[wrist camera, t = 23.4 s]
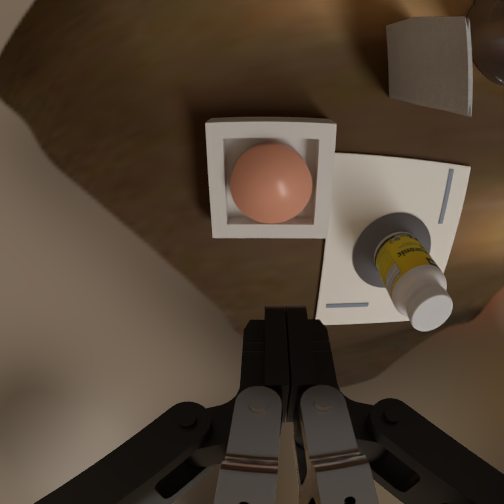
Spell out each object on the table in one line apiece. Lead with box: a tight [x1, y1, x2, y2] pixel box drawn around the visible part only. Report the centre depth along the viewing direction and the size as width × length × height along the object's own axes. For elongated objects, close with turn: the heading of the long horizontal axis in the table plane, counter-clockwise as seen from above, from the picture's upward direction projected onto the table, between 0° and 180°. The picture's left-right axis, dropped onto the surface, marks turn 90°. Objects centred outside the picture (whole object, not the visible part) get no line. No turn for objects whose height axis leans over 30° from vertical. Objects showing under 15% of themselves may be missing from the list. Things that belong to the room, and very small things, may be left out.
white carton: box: [386, 16, 473, 117], centre depth 18 cm, size 4×7×10 cm, turn 5°
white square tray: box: [205, 117, 336, 238], centre depth 27 cm, size 10×10×3 cm
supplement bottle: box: [374, 232, 453, 331], centre depth 27 cm, size 5×5×10 cm
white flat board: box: [315, 152, 471, 325], centre depth 32 cm, size 20×15×1 cm
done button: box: [230, 141, 312, 224], centre depth 26 cm, size 6×6×2 cm
